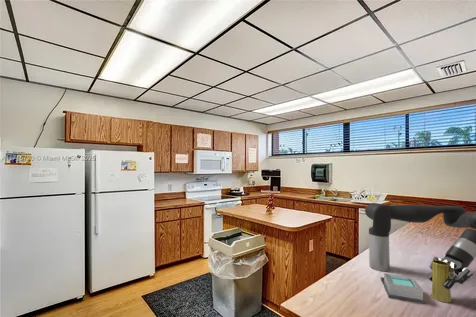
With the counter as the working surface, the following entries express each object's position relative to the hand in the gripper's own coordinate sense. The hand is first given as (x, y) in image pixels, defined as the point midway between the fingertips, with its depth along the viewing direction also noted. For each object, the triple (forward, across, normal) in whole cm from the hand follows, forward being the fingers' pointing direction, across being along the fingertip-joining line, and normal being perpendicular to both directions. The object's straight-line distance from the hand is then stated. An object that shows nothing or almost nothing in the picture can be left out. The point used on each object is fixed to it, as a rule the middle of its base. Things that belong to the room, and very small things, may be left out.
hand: (437, 283), depth 95 cm
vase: (+3, 0, -5) cm, 6 cm away
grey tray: (+11, +8, +3) cm, 14 cm away
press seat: (+10, +6, +6) cm, 13 cm away
